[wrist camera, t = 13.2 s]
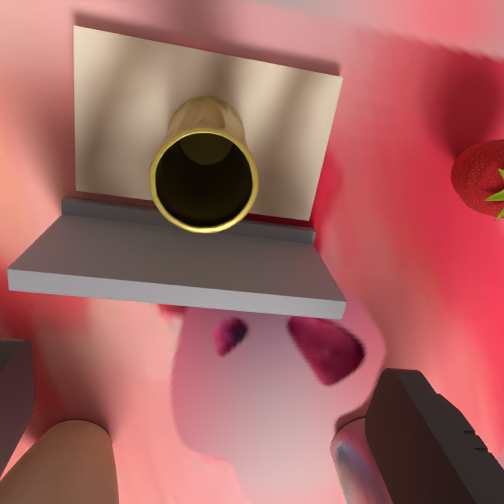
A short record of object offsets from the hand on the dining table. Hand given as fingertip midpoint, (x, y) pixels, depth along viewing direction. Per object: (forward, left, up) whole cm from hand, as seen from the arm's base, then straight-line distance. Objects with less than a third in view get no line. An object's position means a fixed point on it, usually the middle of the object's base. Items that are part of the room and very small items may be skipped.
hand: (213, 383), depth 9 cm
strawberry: (-17, -15, -27) cm, 35 cm away
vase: (+1, -1, -26) cm, 26 cm away
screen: (-4, +6, -27) cm, 28 cm away
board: (+1, -1, -27) cm, 27 cm away
